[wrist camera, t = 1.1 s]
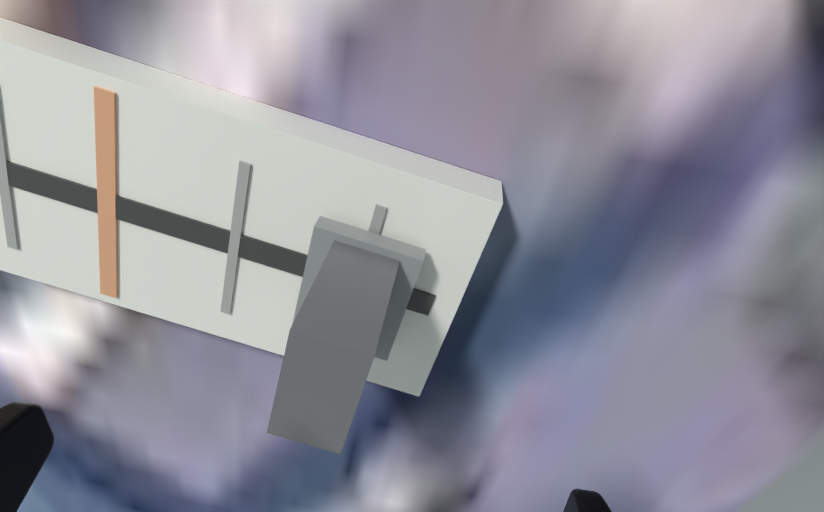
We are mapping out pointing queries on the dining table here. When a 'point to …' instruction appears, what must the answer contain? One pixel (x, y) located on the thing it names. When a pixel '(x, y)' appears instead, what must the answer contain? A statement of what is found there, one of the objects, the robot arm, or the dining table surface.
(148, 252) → the fader console
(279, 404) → the fader slider
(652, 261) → the dining table surface
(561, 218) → the dining table surface
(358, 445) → the dining table surface
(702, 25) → the dining table surface
